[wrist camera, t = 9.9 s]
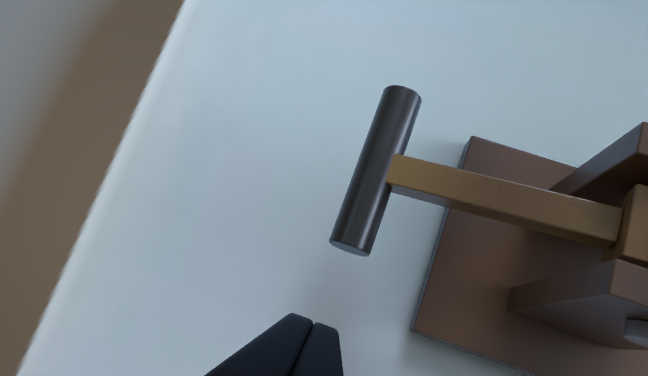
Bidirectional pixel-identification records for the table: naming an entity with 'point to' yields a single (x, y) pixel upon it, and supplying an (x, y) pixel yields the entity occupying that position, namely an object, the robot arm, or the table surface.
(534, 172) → the stand
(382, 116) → the tap lever
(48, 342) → the table surface
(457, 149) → the table surface
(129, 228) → the table surface
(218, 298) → the table surface
